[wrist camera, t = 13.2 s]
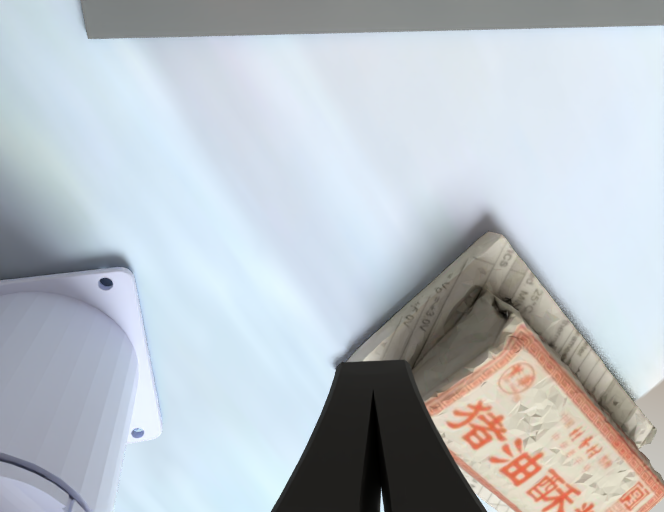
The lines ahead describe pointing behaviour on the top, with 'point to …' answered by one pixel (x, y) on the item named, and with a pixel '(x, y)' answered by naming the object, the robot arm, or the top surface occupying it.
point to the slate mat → (353, 16)
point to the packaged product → (519, 390)
